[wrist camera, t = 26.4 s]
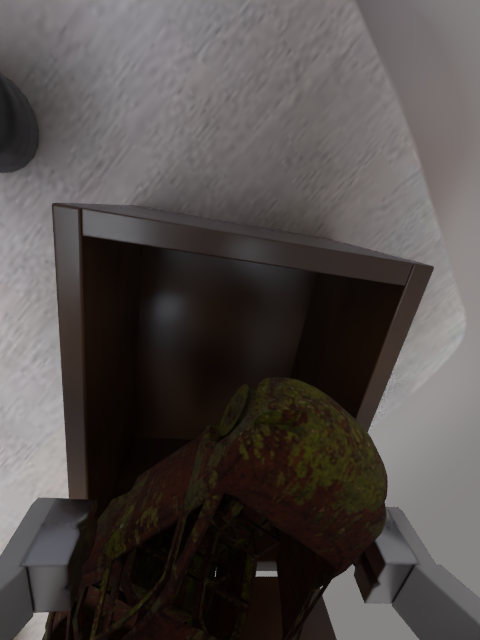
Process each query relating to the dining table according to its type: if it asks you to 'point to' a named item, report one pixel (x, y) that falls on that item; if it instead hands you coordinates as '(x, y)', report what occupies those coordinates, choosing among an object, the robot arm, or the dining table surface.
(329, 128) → the dining table surface
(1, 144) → the beverage cup
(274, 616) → the chest lid
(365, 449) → the toy car
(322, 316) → the chest
